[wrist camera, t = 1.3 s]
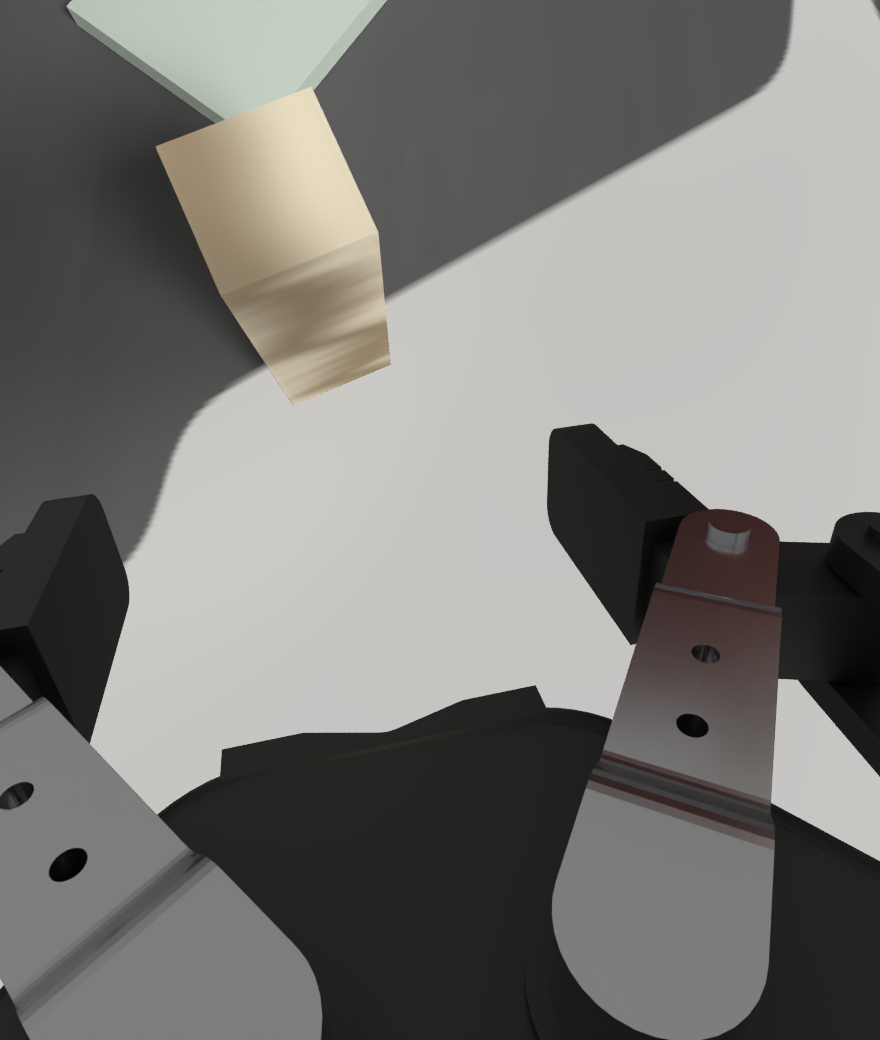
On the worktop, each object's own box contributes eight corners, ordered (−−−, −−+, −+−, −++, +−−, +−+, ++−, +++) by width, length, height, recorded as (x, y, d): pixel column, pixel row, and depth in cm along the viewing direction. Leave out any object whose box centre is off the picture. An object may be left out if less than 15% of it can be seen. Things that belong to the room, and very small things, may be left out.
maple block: (348, 271, 29) (311, 86, 19) (390, 364, 29) (378, 232, 18) (251, 311, 29) (155, 146, 18) (293, 405, 29) (221, 295, 18)
